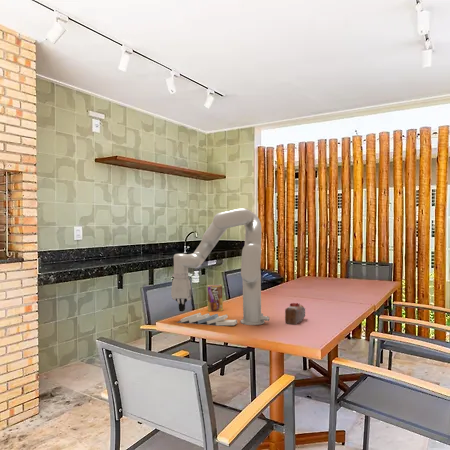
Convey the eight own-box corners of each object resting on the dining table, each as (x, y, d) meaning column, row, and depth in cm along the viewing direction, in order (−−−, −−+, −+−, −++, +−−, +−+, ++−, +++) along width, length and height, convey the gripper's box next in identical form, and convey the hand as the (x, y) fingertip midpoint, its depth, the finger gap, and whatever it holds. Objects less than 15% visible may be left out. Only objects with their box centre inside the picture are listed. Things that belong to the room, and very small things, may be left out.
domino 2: (193, 320, 210) (209, 316, 206) (189, 323, 205) (206, 318, 202) (192, 318, 210) (208, 313, 207) (188, 320, 205) (205, 315, 202)
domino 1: (185, 320, 212) (201, 315, 208) (181, 322, 207) (197, 317, 204) (184, 317, 212) (200, 312, 208) (180, 319, 207) (196, 314, 204)
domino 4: (219, 322, 205) (237, 322, 201) (215, 325, 200) (234, 325, 196) (219, 319, 205) (237, 319, 201) (215, 322, 200) (233, 322, 196)
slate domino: (202, 321, 208) (218, 316, 205) (198, 323, 203) (215, 318, 200) (201, 318, 208) (217, 313, 205) (197, 320, 204) (214, 315, 200)
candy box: (222, 309, 239) (221, 284, 239) (223, 310, 234) (222, 285, 234) (207, 310, 238) (207, 285, 238) (208, 311, 234) (207, 286, 234)
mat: (230, 323, 204) (230, 322, 204) (225, 327, 197) (225, 326, 197) (182, 320, 214) (182, 319, 214) (176, 323, 207) (176, 322, 207)
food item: (292, 318, 214) (291, 300, 214) (306, 319, 210) (306, 301, 210) (283, 323, 201) (283, 304, 201) (298, 325, 198) (298, 306, 198)
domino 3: (211, 322, 206) (228, 317, 203) (207, 324, 202) (224, 319, 198) (210, 319, 206) (227, 314, 203) (206, 321, 202) (223, 316, 198)
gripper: (165, 277, 209) (166, 311, 209) (190, 278, 203) (191, 313, 203) (172, 275, 216) (173, 308, 216) (196, 276, 210) (197, 310, 210)
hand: (182, 310), depth 209 cm, fingers closed
